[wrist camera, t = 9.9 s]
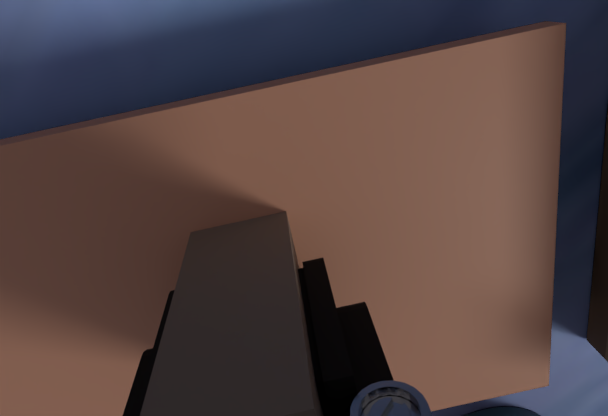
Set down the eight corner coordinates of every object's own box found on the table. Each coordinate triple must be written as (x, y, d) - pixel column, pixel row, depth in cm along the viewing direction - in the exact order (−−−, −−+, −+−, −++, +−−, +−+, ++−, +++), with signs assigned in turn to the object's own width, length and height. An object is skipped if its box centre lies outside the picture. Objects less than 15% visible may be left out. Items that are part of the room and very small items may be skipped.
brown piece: (545, 21, 11) (927, 54, 5) (535, 367, 15) (718, 611, 9) (-133, 168, 11) (-654, 398, 5) (62, 471, 15) (-66, 786, 9)
